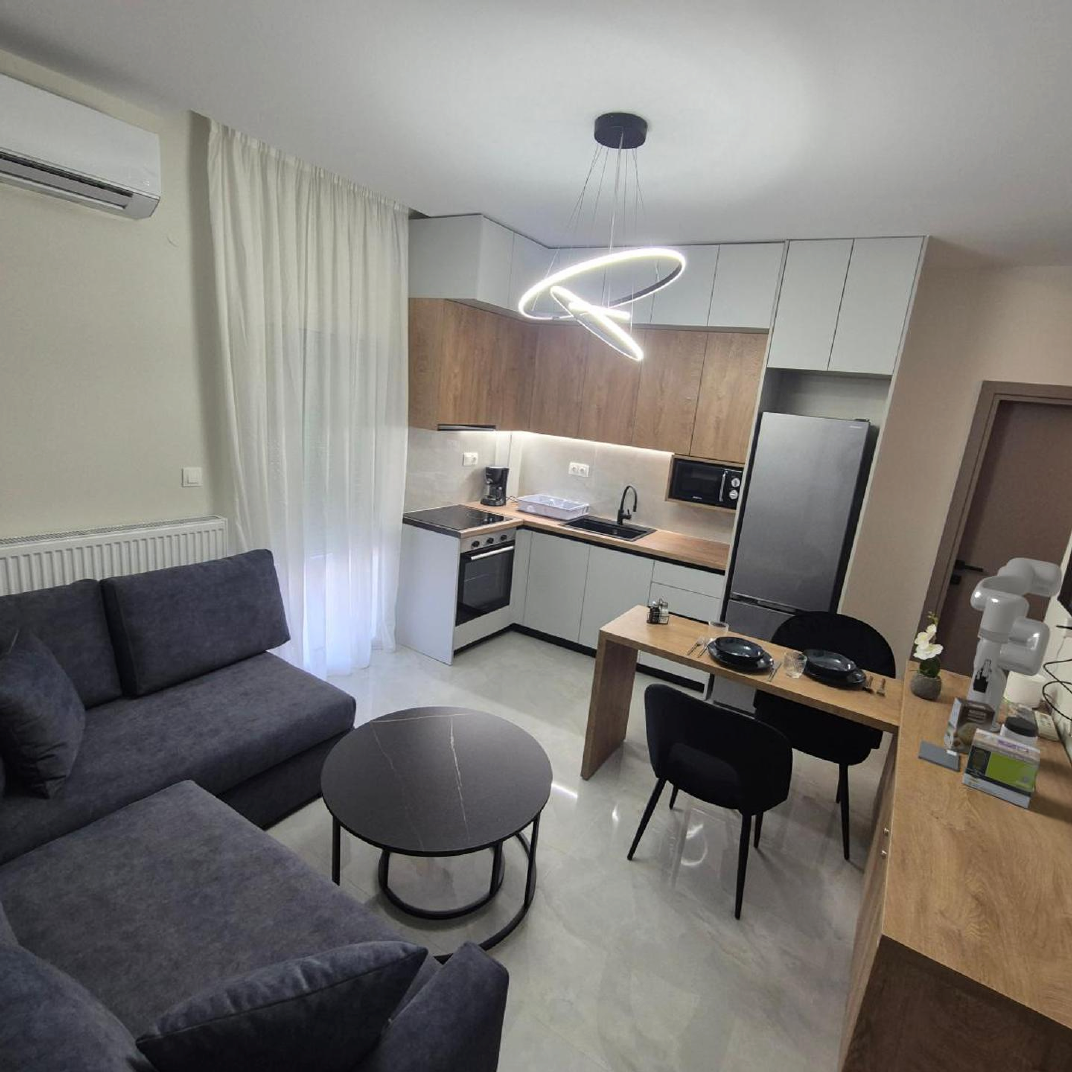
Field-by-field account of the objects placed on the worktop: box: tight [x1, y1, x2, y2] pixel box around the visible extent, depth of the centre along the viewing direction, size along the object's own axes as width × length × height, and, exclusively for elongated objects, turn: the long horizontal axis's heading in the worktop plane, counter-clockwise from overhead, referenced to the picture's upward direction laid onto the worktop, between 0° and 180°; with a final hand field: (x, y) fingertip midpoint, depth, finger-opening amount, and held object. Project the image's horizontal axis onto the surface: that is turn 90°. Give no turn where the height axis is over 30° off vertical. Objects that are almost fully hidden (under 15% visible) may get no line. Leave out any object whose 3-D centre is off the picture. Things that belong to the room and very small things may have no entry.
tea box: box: [962, 728, 1042, 809], centre depth 164 cm, size 15×10×15 cm
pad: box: [917, 740, 960, 772], centre depth 180 cm, size 12×10×1 cm
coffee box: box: [943, 696, 995, 755], centre depth 184 cm, size 9×6×16 cm
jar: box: [999, 716, 1040, 747], centre depth 182 cm, size 9×8×12 cm
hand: (978, 689), depth 181 cm, fingers open, 2 cm apart
